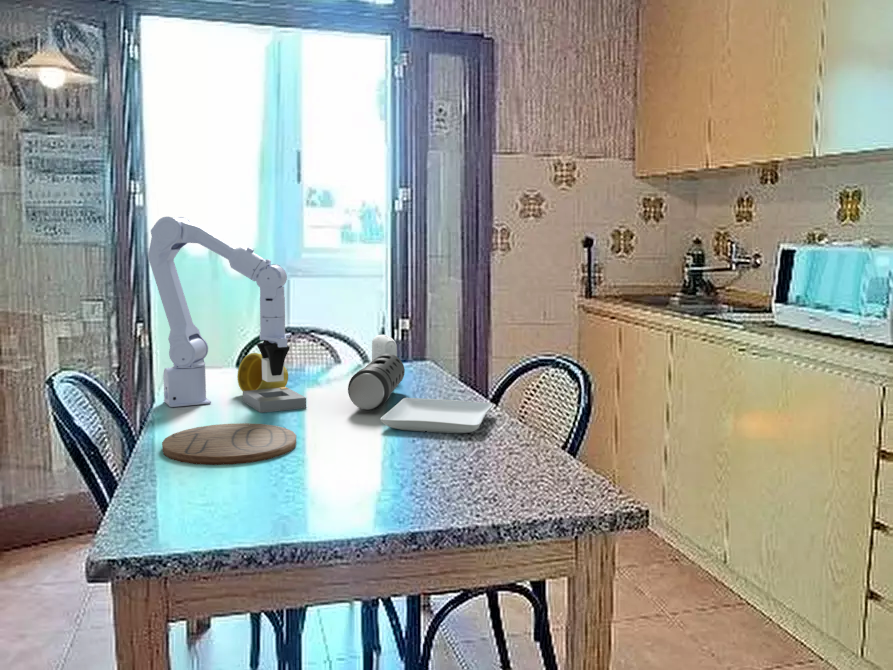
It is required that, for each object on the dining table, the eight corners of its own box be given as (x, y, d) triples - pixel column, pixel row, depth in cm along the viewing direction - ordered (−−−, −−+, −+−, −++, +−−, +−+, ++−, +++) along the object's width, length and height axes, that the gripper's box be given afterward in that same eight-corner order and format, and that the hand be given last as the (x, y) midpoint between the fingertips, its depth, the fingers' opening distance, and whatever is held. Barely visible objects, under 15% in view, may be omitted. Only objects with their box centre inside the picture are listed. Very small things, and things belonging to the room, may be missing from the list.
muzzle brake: (405, 392, 214) (405, 352, 212) (387, 417, 186) (387, 371, 185) (369, 391, 214) (369, 352, 213) (345, 415, 187) (345, 370, 185)
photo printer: (398, 381, 228) (398, 336, 227) (384, 382, 226) (384, 337, 225) (383, 375, 237) (383, 332, 236) (369, 376, 235) (369, 333, 234)
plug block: (267, 382, 193) (266, 360, 192) (262, 379, 196) (261, 357, 196) (283, 380, 195) (283, 358, 194) (278, 377, 198) (277, 356, 198)
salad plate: (479, 439, 168) (479, 423, 167) (378, 433, 172) (378, 417, 171) (493, 416, 188) (494, 401, 188) (403, 411, 193) (403, 397, 192)
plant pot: (298, 383, 208) (268, 378, 200) (273, 405, 212) (243, 402, 205) (286, 350, 213) (257, 344, 205) (262, 372, 217) (232, 368, 210)
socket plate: (260, 412, 188) (260, 401, 187) (242, 401, 200) (242, 390, 200) (306, 408, 193) (306, 396, 193) (286, 397, 205) (286, 386, 205)
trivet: (157, 471, 144) (157, 460, 144) (166, 435, 168) (166, 426, 168) (302, 461, 151) (302, 451, 150) (290, 429, 175) (290, 420, 174)
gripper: (299, 318, 190) (300, 377, 191) (279, 312, 202) (280, 367, 204) (269, 320, 186) (270, 379, 188) (250, 314, 199) (251, 369, 200)
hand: (273, 373), depth 196 cm, fingers closed on plug block, 4 cm apart
